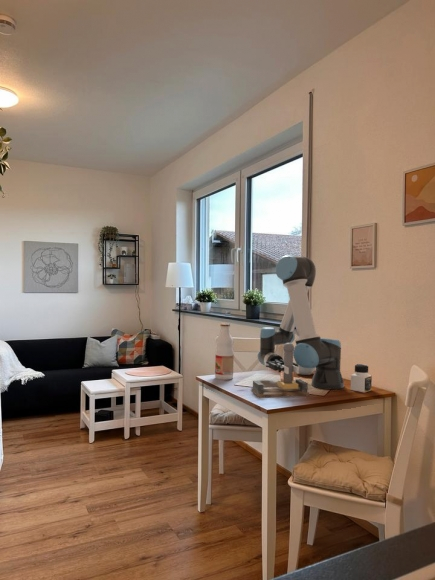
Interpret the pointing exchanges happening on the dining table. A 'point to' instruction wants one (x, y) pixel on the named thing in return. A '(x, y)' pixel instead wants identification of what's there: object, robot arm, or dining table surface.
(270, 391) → the rail board
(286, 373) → the robot arm
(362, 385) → the medicine bottle
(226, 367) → the fruit juice
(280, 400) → the dining table surface
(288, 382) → the post
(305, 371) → the teacup
